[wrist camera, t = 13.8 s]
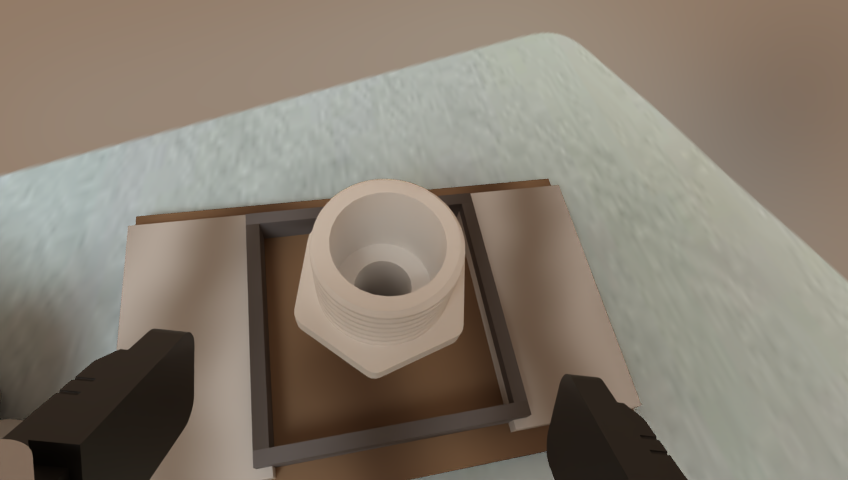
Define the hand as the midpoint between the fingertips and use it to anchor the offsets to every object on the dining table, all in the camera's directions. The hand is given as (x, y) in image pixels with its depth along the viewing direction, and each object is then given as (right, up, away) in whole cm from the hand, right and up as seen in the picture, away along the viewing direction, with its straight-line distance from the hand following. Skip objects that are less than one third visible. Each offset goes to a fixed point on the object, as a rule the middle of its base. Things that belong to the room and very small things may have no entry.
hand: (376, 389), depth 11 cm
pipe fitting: (-1, -1, +13) cm, 13 cm away
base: (-1, -1, +14) cm, 14 cm away
